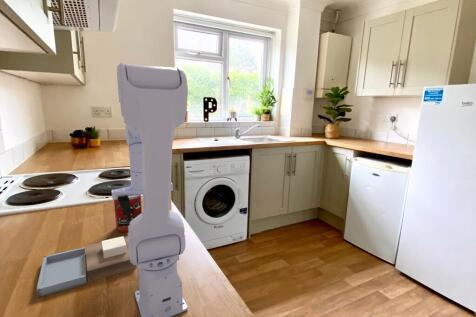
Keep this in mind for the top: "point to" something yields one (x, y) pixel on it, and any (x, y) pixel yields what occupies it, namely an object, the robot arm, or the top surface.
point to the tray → (62, 271)
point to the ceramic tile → (114, 247)
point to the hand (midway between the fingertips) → (145, 220)
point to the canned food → (121, 216)
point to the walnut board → (106, 262)
